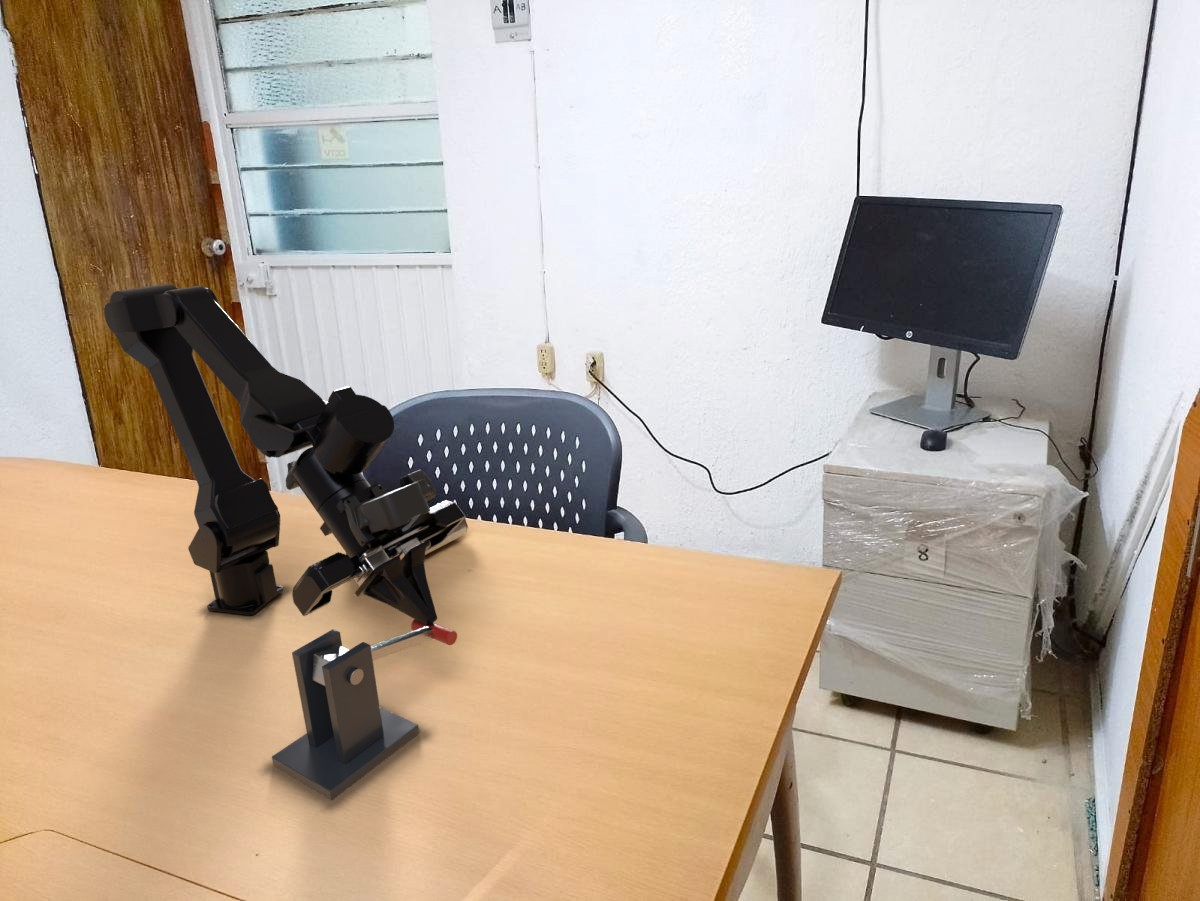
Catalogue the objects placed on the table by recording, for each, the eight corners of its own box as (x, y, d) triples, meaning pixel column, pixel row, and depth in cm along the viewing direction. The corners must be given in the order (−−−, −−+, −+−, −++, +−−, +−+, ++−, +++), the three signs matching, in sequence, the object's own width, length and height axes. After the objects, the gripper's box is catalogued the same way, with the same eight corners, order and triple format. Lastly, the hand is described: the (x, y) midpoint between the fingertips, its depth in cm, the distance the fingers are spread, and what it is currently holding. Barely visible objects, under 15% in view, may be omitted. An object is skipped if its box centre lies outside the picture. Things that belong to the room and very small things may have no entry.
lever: (420, 633, 84) (422, 611, 84) (456, 648, 81) (458, 624, 81) (301, 675, 72) (302, 649, 72) (339, 693, 70) (340, 666, 69)
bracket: (362, 707, 81) (347, 610, 77) (420, 735, 77) (406, 634, 73) (273, 767, 73) (252, 663, 70) (332, 802, 69) (312, 693, 65)
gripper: (290, 486, 71) (394, 632, 69) (444, 427, 86) (533, 546, 84) (252, 548, 78) (345, 683, 76) (400, 483, 93) (482, 595, 91)
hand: (432, 622), depth 81 cm, fingers closed, pressing on lever
